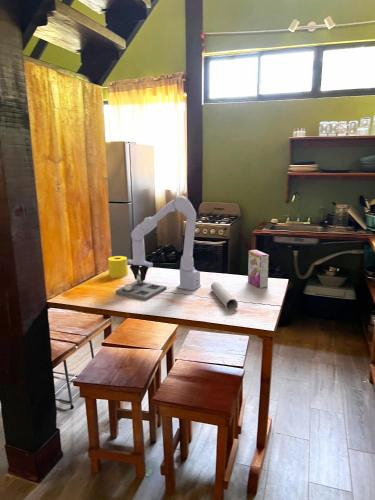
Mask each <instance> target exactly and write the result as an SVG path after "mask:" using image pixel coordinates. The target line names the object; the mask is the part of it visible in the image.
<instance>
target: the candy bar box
mask: <svg viewBox="0 0 375 500" xmlns="http://www.w3.org/2000/svg"><path fill="white" fill-rule="evenodd" d="M247 254H248V259H247V260H248V262H247V263H248V267H247V268H248V270H247V282H248V283H250V284H252V285H253V286H256V287H257V288H258V289H264V288H268V286H269V285H268V283H269V262H270V261H269V260H270V259H269V258H270V254H267V253H265V252H262V251H260V250H258V249H251V250H250V249H249V250H248V253H247Z"/></svg>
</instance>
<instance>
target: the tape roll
mask: <svg viewBox="0 0 375 500" xmlns="http://www.w3.org/2000/svg"><path fill="white" fill-rule="evenodd" d="M126 260H128V257H127V256H123V255H115V256H111V257H108V258H107V265H108V276H109V277H110V278H112V277H113V278H114V279H118V278H119V279H121V278H126V277H127V276H128V275H129V274H128V271H129V270H128V269H129V268H128V264H126Z"/></svg>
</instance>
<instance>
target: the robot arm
mask: <svg viewBox="0 0 375 500" xmlns="http://www.w3.org/2000/svg"><path fill="white" fill-rule="evenodd" d="M176 210H177V211H178V212H179V213H182V214H183V215H184V217H185V218H186V220H185V232H184V241H183V254H182V255H181V257H180V265H179V266H180V267H179V285H177V286H176V288H178V289H183V290H188V291H195V290H197V289H198V288H200V287H201V286H202V285H201V273H200V271H199V270H197V269H195V266H194V265H195V263H194V257H193V254H194V252H193V251H194V243H195V234H196V223H197V212H196V209H195V208H194V206H193V204H192V203H191V201H190V199H188V198H187V197H186V196H185V195H181V194H180V195H178V196H176V197H175V198H174V199H172V200H170V201H169V202H168V203H165V205H164V206H163V207H162V208H161V209H160V210H159V211H157V212H156V213H155V214H154V215H153V216H148V217H145V218H144V219H143V221H142V222H141V223H139V224H137V225H136V227H134V229H133V230H132V231H131V233H130V237H131V239H132V244H131V246H132V259H130V258H127V260H126V264H127V265H130V266H129V268H130V270H131V272H132V274H133V277H134V280H135V281H137V274H141V281H143V282H145V280H146V277H147V273H148V270H149V269H152V268H153V266H154V264H153V262H150V261H147V260H146V252H145V251H146V249H145V235H148V234H149V233H150V232H151V231H153V230H154V229H155V228H156V227H157V225H158V221H161V219H162V218H164V217H165V216H167V214H169V213H172V212H176Z"/></svg>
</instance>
